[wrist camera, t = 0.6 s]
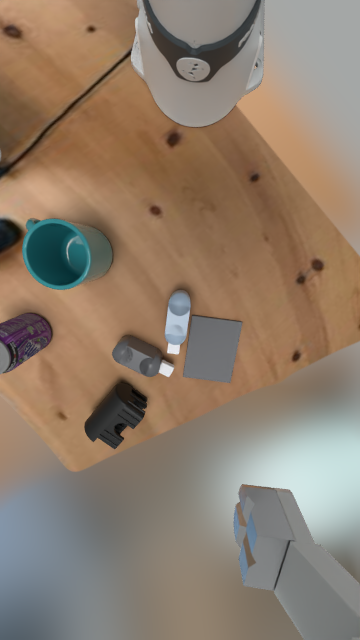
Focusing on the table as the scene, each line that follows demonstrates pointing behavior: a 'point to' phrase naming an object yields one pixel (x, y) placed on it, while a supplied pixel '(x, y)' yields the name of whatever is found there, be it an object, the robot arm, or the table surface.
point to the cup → (65, 253)
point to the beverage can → (22, 340)
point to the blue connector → (177, 320)
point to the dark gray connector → (141, 357)
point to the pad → (212, 348)
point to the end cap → (116, 415)
